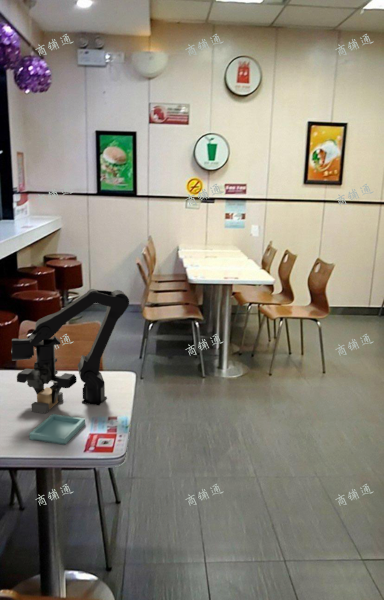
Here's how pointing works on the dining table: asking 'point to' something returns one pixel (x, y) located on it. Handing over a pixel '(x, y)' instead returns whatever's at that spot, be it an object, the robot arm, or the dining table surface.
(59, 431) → the teal tray
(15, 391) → the dining table surface
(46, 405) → the pair of grey blocks
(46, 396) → the wooden block
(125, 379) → the dining table surface
